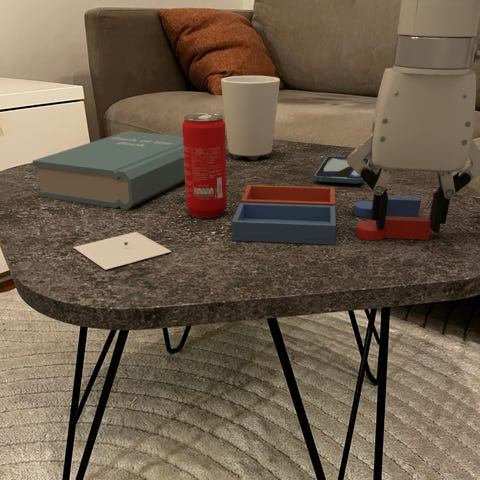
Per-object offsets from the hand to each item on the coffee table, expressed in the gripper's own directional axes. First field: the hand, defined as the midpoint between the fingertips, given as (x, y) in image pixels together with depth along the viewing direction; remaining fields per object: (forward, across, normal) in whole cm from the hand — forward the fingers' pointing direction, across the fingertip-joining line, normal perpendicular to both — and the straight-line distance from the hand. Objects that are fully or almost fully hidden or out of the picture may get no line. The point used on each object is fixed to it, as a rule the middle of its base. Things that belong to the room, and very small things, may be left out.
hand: (406, 226), depth 68 cm
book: (+2, +38, -19) cm, 43 cm away
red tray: (+2, +14, -8) cm, 16 cm away
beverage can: (+2, +24, -6) cm, 25 cm away
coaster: (+2, +32, +8) cm, 33 cm away
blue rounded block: (+1, +2, -8) cm, 8 cm away
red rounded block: (+1, +1, 0) cm, 2 cm away
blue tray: (+2, +14, 0) cm, 14 cm away
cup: (+2, +22, -38) cm, 44 cm away
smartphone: (+1, +6, -28) cm, 29 cm away
